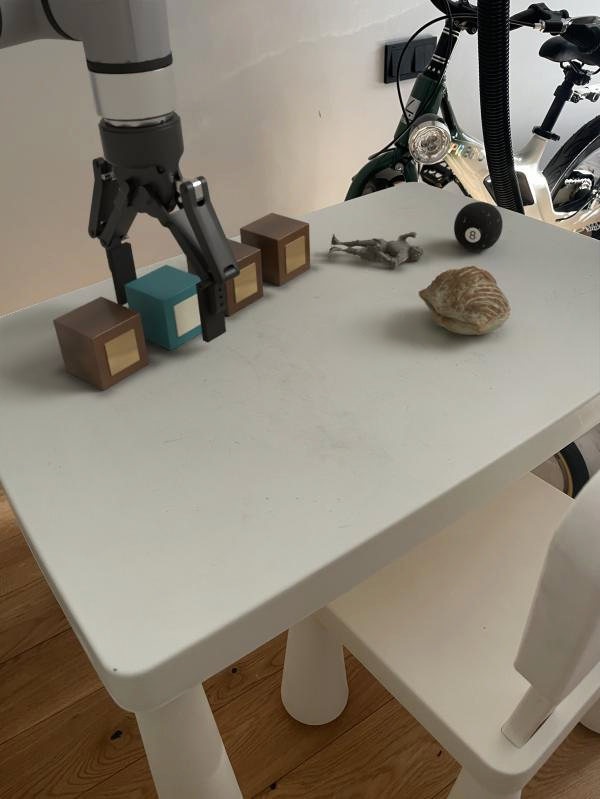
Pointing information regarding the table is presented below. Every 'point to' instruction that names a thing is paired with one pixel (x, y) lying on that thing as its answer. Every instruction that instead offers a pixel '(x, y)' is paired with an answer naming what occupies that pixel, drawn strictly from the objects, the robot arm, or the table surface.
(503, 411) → the table surface
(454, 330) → the seashell
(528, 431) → the table surface
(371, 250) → the figurine
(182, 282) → the teal block
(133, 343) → the walnut block
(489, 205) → the billiard ball
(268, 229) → the walnut block
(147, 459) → the table surface
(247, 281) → the walnut block
